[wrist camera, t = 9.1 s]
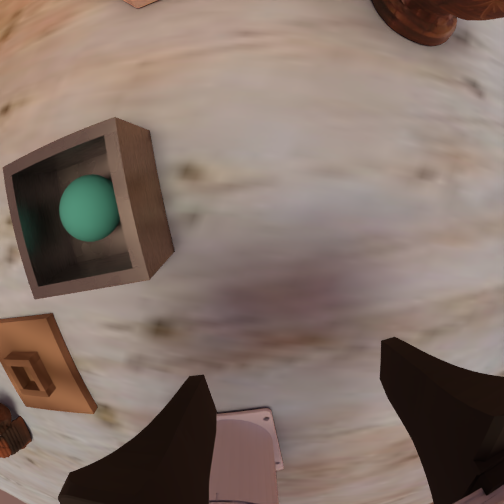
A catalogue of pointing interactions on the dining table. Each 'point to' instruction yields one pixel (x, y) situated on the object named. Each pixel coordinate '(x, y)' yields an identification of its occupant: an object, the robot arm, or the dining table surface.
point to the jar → (139, 2)
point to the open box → (127, 198)
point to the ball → (89, 208)
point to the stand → (42, 365)
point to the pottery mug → (12, 433)
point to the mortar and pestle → (434, 16)
